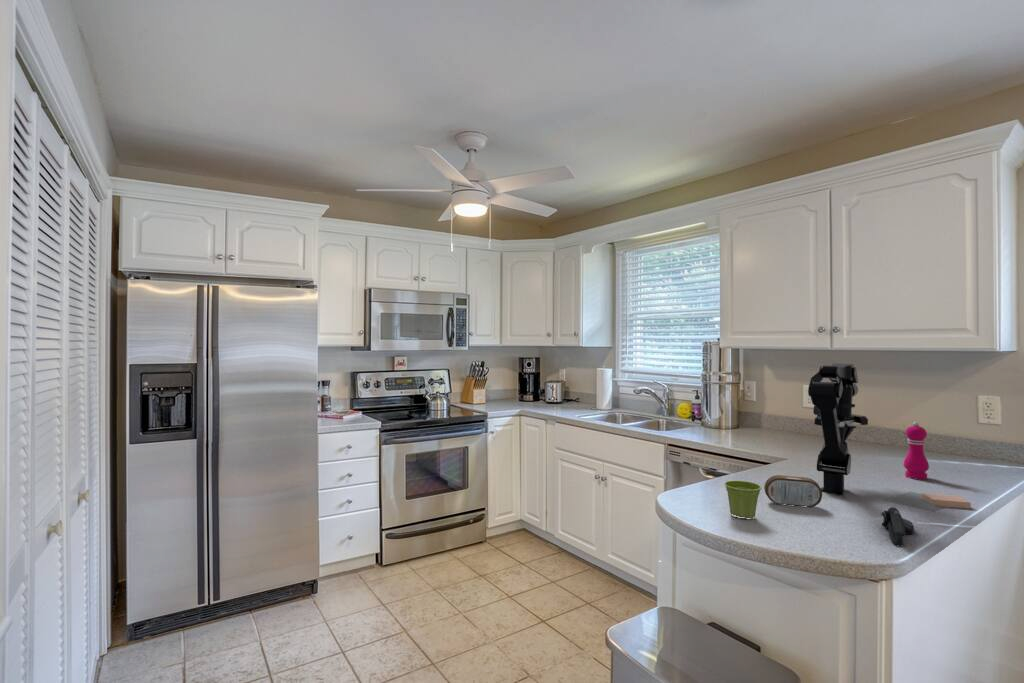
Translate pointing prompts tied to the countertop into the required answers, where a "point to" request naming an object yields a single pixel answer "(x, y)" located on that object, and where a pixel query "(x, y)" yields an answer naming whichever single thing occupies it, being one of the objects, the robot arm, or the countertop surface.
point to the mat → (913, 501)
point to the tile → (946, 500)
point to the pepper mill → (916, 453)
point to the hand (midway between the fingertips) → (840, 445)
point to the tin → (793, 491)
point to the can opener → (896, 525)
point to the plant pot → (742, 497)
